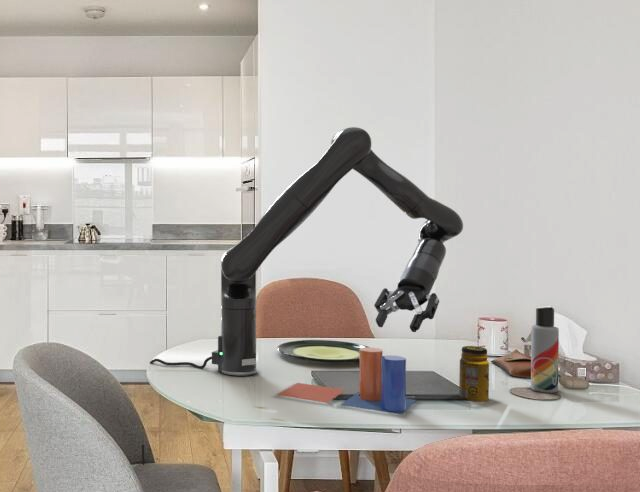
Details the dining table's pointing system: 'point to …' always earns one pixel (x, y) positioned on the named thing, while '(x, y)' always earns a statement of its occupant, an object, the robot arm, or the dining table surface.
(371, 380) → the terracotta canister
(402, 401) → the blue canister
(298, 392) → the terracotta mat
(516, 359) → the sunglasses case
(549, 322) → the lotion bottle
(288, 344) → the plate
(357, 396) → the blue mat
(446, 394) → the dining table surface
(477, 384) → the condiment
